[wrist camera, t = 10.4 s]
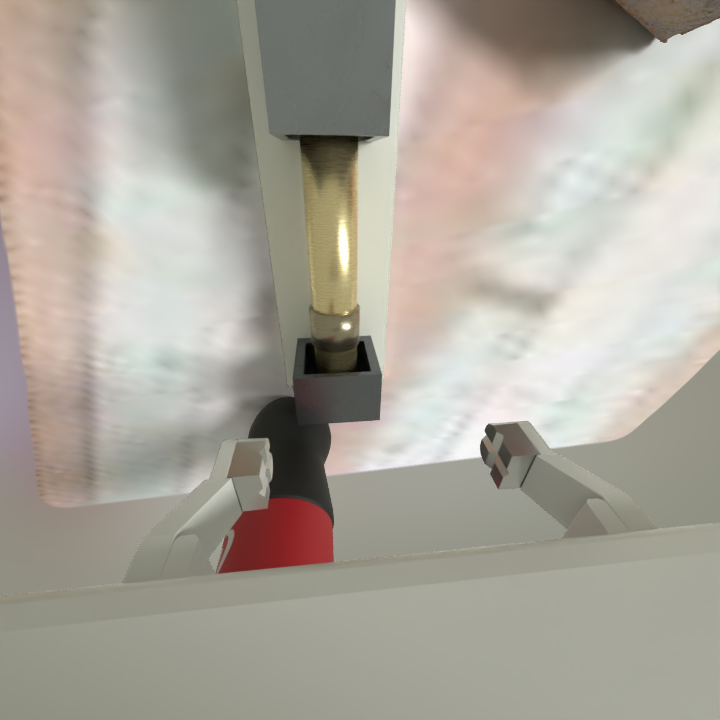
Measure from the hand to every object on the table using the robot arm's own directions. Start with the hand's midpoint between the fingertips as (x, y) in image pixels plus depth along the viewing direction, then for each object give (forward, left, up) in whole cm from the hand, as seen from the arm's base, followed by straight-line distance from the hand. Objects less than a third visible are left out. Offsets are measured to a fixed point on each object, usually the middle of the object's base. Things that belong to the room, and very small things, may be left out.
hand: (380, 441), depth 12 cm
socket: (+8, -1, -19) cm, 21 cm away
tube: (-1, -1, -18) cm, 18 cm away
